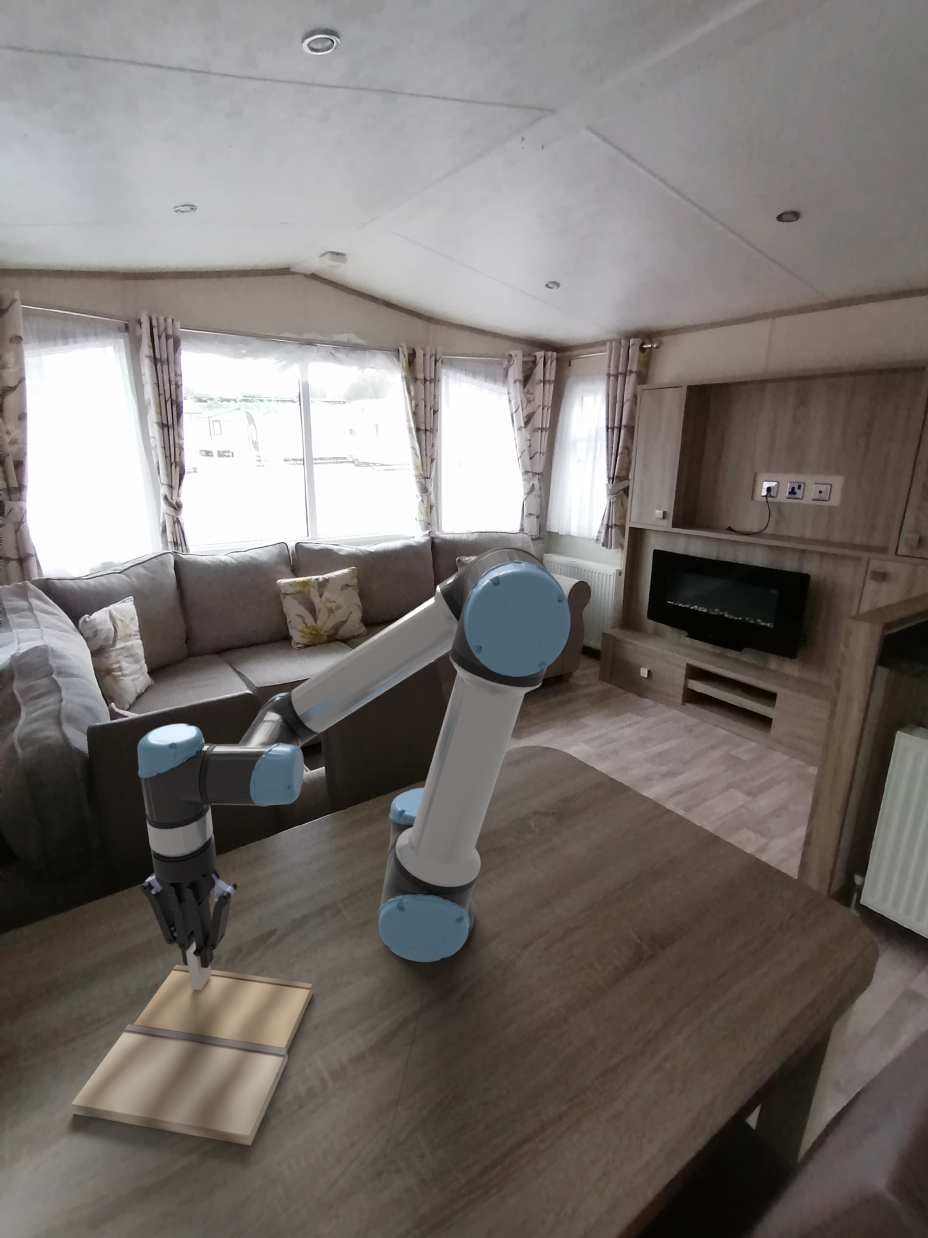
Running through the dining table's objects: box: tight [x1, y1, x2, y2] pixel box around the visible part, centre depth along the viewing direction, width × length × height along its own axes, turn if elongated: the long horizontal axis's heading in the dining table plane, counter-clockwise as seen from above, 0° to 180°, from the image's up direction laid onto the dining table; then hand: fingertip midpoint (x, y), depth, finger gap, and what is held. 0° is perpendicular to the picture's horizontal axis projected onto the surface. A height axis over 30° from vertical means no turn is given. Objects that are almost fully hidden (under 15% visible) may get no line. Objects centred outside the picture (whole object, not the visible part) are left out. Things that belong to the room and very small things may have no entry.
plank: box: [133, 964, 314, 1052], centre depth 84 cm, size 21×10×2 cm, turn 82°
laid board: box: [71, 1023, 289, 1146], centre depth 74 cm, size 22×10×2 cm, turn 82°
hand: (201, 981), depth 87 cm, fingers closed
